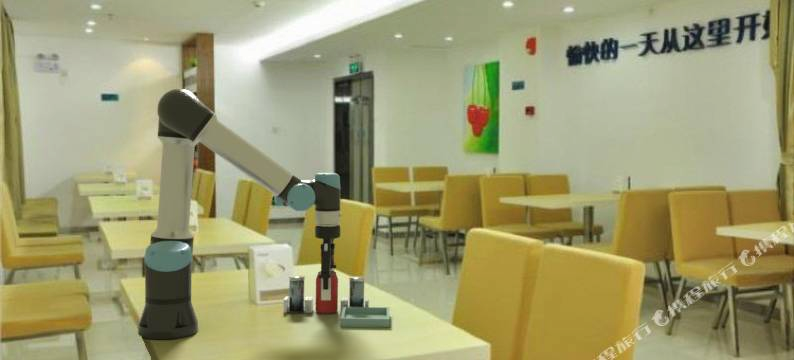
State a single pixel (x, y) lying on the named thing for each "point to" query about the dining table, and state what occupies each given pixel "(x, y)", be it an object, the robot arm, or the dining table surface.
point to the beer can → (332, 304)
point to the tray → (365, 317)
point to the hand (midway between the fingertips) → (327, 294)
